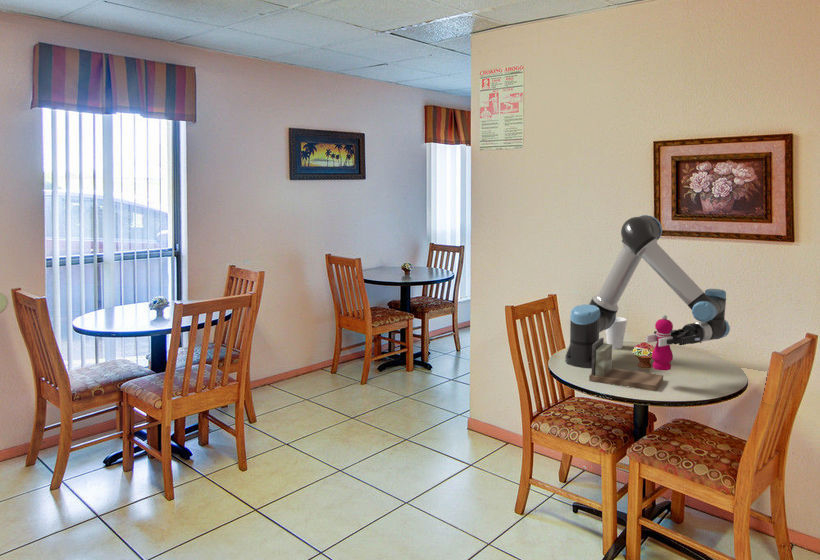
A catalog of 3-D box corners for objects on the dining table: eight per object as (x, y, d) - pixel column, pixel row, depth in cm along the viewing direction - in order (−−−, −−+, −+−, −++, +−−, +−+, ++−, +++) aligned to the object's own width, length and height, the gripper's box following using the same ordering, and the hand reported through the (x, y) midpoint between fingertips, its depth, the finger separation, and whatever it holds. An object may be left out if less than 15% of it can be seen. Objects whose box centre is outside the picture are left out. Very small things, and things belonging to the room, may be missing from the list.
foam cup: (608, 343, 295) (608, 316, 293) (628, 346, 289) (629, 318, 287) (601, 348, 287) (602, 319, 285) (621, 350, 282) (622, 322, 280)
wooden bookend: (589, 380, 242) (590, 345, 240) (599, 371, 254) (600, 336, 251) (655, 391, 229) (657, 353, 227) (663, 380, 241) (664, 344, 239)
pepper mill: (647, 365, 237) (650, 313, 234) (666, 364, 238) (669, 312, 235) (656, 371, 230) (659, 317, 227) (675, 370, 231) (679, 316, 228)
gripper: (716, 347, 233) (673, 357, 223) (675, 337, 249) (633, 345, 238) (718, 328, 232) (674, 336, 221) (676, 318, 248) (634, 325, 237)
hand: (653, 340), depth 230 cm, fingers closed on pepper mill, 5 cm apart
